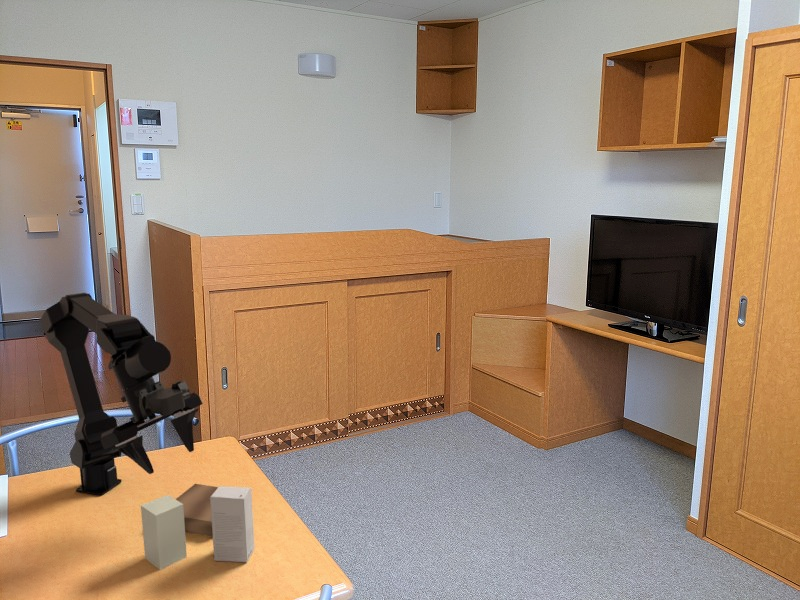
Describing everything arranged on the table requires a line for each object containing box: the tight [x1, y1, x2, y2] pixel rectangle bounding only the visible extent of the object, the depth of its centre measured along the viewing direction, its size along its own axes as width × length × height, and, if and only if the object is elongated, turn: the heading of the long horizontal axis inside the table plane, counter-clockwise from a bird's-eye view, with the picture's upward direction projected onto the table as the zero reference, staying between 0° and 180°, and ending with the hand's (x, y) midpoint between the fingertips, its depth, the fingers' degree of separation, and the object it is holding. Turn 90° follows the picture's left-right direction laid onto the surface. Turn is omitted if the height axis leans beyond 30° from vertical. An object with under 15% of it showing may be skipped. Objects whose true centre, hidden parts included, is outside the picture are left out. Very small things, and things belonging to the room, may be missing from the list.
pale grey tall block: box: [140, 494, 188, 571], centre depth 113 cm, size 5×5×10 cm
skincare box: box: [210, 485, 255, 563], centre depth 114 cm, size 6×4×12 cm
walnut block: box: [175, 483, 219, 538], centre depth 127 cm, size 12×12×4 cm
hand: (172, 462), depth 121 cm, fingers open, 9 cm apart
